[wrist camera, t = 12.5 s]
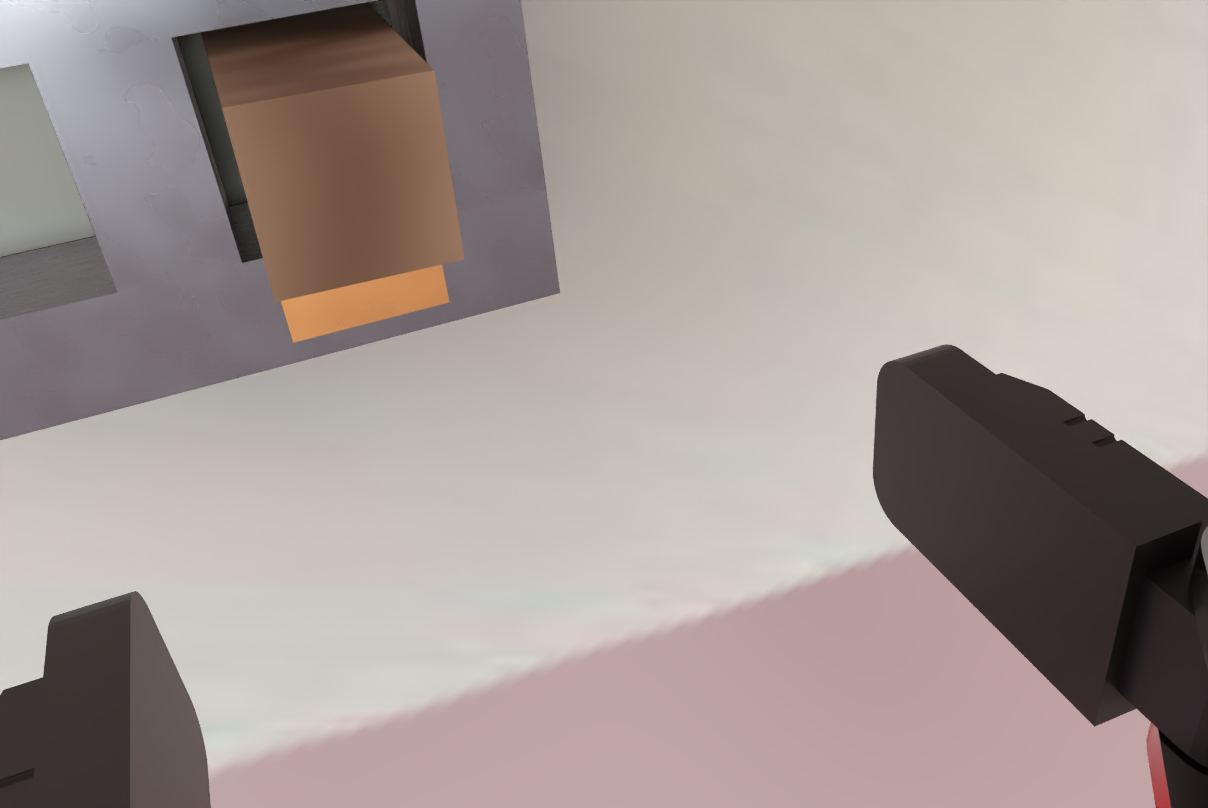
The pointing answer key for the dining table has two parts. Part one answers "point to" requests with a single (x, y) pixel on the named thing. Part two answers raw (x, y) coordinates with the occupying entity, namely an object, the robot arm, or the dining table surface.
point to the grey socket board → (237, 209)
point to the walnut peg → (336, 148)
